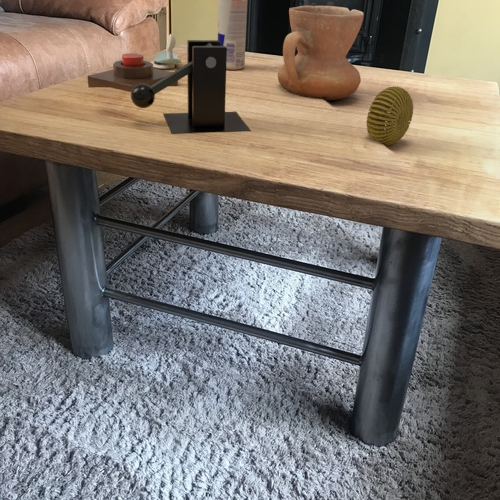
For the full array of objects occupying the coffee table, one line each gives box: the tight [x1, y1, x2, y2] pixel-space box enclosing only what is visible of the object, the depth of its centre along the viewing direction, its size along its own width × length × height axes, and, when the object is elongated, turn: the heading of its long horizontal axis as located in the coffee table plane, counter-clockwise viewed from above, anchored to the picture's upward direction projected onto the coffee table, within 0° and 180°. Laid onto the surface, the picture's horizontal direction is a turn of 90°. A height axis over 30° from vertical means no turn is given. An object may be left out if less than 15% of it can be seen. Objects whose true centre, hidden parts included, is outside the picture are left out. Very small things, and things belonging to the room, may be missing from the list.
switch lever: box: [130, 43, 212, 109], centre depth 75 cm, size 13×3×3 cm, turn 105°
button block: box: [87, 59, 179, 93], centre depth 97 cm, size 12×10×4 cm
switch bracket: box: [162, 39, 252, 135], centre depth 77 cm, size 11×9×12 cm
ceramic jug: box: [277, 5, 365, 101], centre depth 96 cm, size 18×14×14 cm
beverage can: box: [217, 0, 248, 71], centre depth 112 cm, size 6×6×15 cm
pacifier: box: [149, 33, 182, 70], centre depth 111 cm, size 7×6×6 cm
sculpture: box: [366, 86, 414, 147], centre depth 77 cm, size 8×4×8 cm, turn 136°
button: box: [121, 52, 145, 67], centre depth 96 cm, size 4×4×2 cm
